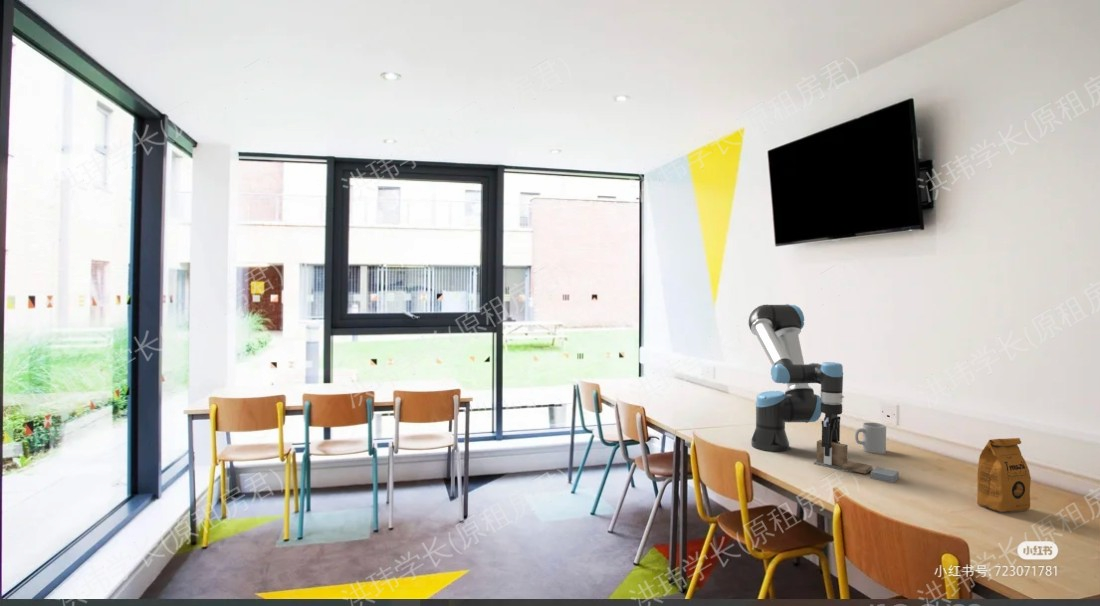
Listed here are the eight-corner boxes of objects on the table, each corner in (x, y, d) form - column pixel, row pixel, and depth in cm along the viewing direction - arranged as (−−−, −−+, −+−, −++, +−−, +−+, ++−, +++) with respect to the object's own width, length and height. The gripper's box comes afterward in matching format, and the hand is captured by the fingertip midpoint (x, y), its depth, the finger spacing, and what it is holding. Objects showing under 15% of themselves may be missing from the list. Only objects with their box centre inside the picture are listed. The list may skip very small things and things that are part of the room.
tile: (876, 473, 209) (870, 479, 203) (876, 466, 208) (870, 471, 203) (898, 478, 204) (892, 483, 198) (898, 470, 204) (893, 476, 198)
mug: (879, 448, 240) (879, 422, 240) (890, 454, 232) (890, 427, 232) (850, 447, 241) (850, 422, 241) (860, 453, 232) (860, 427, 232)
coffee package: (1036, 514, 171) (1038, 442, 170) (999, 515, 170) (1001, 443, 169) (1006, 501, 181) (1008, 433, 180) (971, 503, 179) (973, 434, 179)
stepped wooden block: (814, 462, 219) (815, 442, 219) (821, 458, 224) (821, 438, 224) (865, 473, 206) (866, 452, 206) (871, 469, 211) (872, 448, 211)
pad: (813, 463, 219) (813, 462, 219) (820, 459, 225) (820, 458, 225) (852, 472, 209) (852, 471, 209) (859, 467, 215) (859, 466, 215)
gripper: (833, 407, 209) (832, 470, 209) (849, 400, 221) (848, 459, 222) (812, 404, 214) (811, 465, 215) (829, 398, 227) (828, 455, 227)
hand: (830, 462), depth 218 cm, fingers open, 5 cm apart
